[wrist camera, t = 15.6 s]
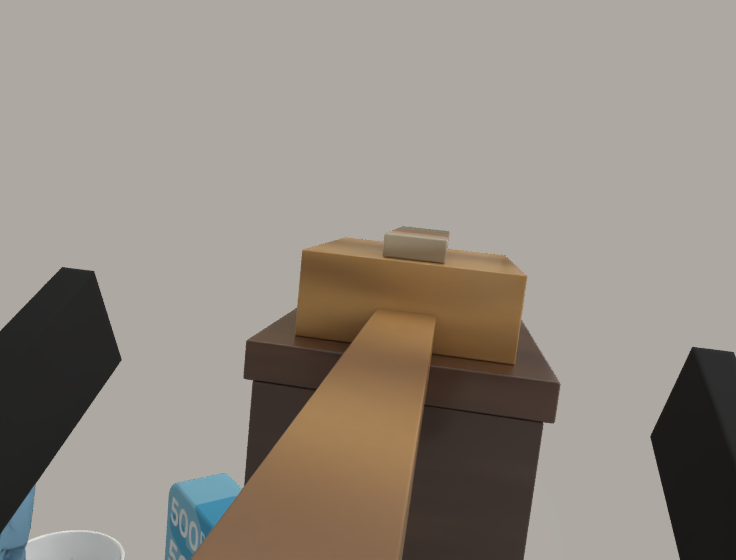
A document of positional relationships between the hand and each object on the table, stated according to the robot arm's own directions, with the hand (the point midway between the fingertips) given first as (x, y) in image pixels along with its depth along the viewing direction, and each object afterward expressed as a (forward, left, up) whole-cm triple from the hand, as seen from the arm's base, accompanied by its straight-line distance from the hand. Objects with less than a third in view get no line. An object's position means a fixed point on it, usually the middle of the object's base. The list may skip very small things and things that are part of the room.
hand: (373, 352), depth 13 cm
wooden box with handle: (-5, +6, -3) cm, 8 cm away
